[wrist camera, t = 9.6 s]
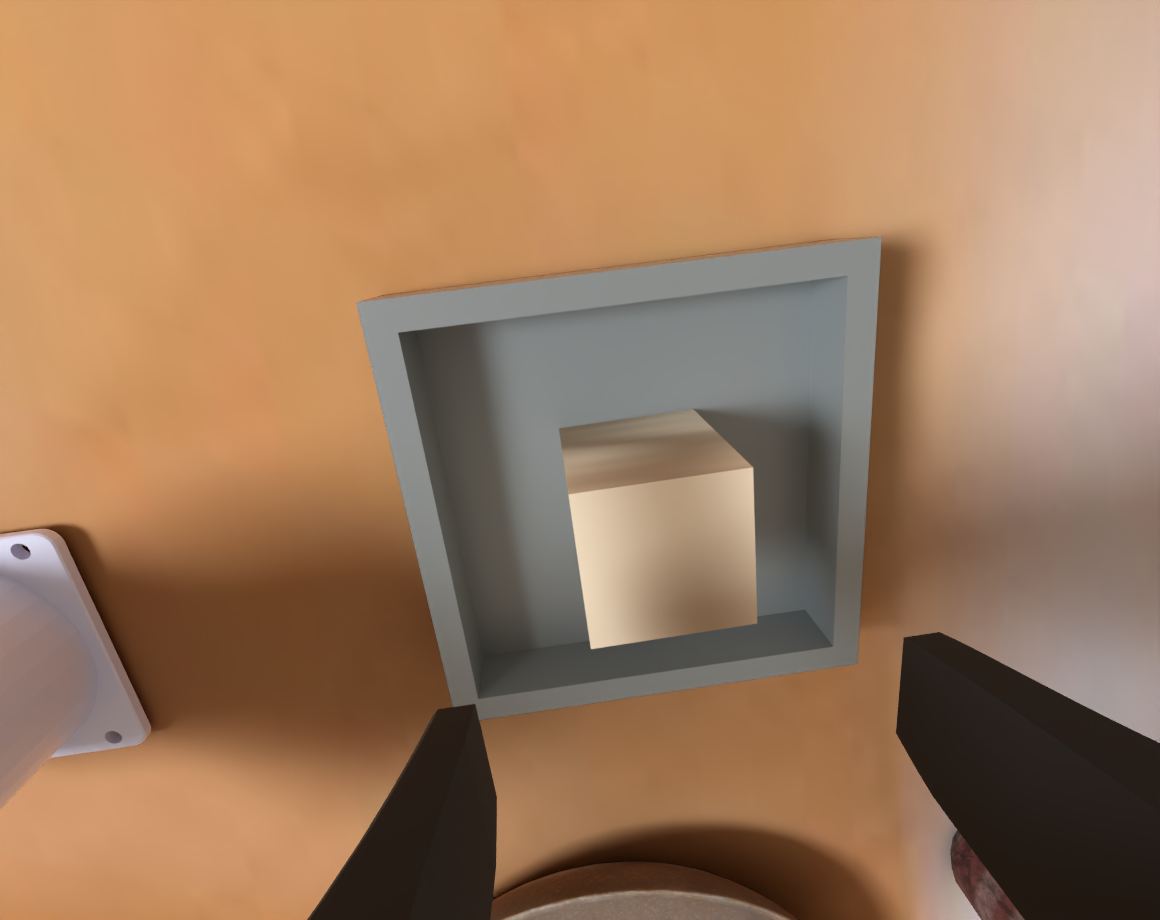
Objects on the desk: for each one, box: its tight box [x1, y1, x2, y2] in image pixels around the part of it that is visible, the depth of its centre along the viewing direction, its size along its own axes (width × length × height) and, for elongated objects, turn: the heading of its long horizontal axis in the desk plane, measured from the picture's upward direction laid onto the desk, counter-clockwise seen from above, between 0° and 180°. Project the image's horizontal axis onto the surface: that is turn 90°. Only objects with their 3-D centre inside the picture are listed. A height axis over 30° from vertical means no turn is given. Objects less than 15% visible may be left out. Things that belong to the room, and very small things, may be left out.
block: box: [559, 409, 757, 649], centre depth 15 cm, size 4×4×5 cm
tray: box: [356, 237, 882, 720], centre depth 17 cm, size 13×13×2 cm
